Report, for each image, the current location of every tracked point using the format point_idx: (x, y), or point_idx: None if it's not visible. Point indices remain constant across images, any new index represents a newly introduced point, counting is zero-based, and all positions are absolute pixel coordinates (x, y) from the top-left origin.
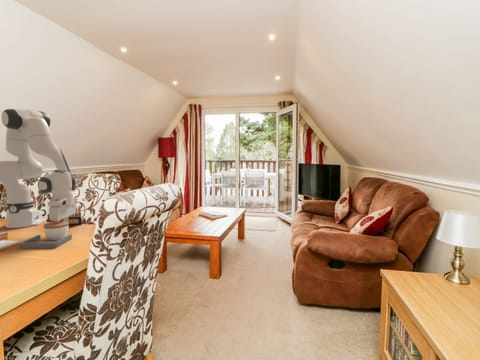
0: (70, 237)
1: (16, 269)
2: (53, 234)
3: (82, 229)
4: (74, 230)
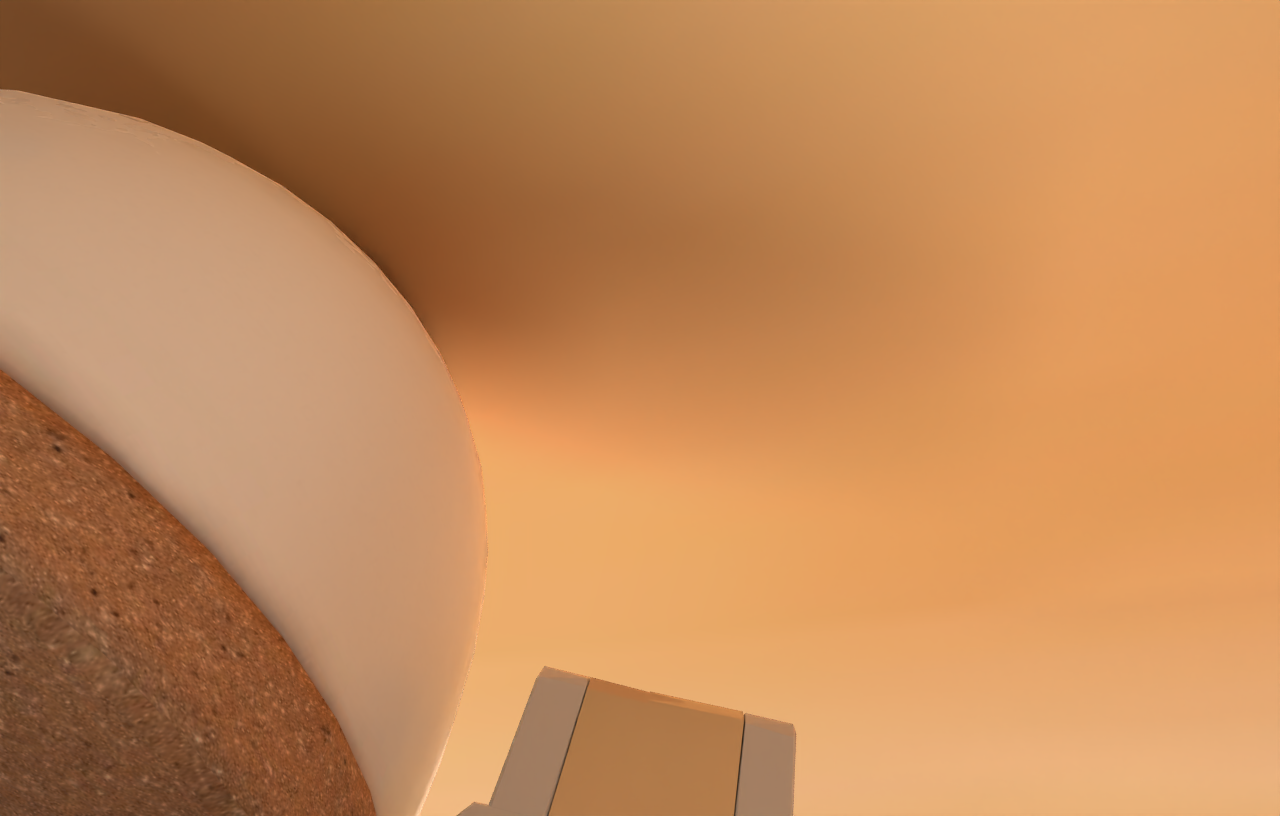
0: None
1: None
2: None
3: (1245, 808)
4: (1233, 638)
